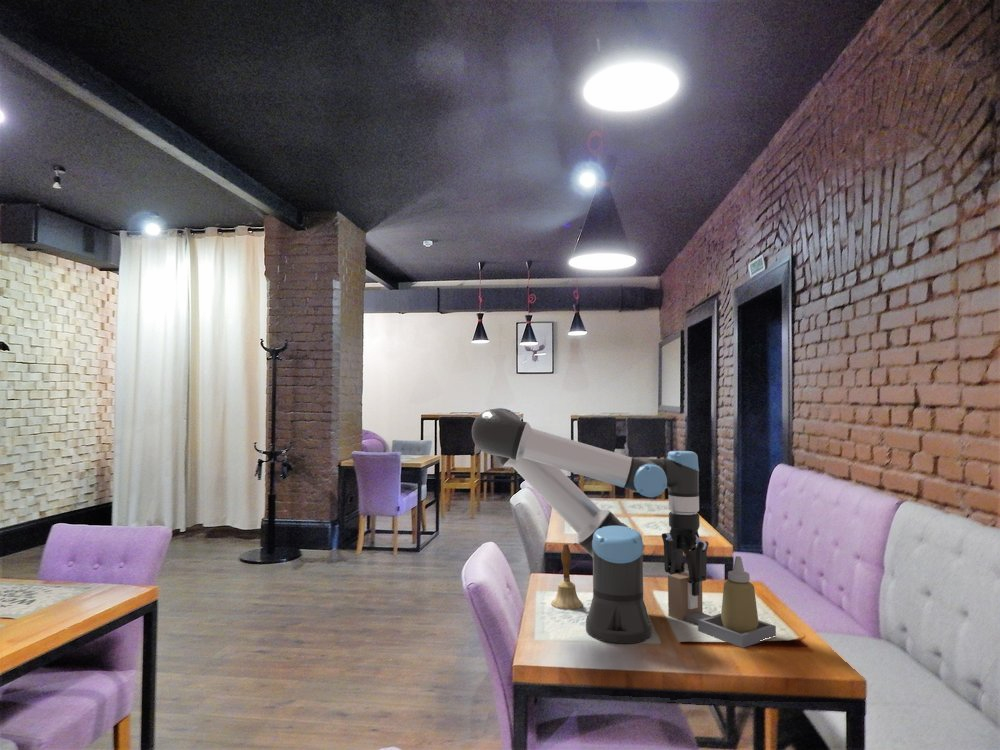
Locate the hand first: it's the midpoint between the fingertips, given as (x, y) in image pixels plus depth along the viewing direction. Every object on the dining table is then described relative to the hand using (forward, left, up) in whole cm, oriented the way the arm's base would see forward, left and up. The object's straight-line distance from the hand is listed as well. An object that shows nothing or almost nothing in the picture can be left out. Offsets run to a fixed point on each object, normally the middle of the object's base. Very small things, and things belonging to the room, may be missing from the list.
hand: (685, 605), depth 153 cm
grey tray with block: (+9, 0, -2) cm, 10 cm away
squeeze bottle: (+16, 0, -3) cm, 16 cm away
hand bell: (-23, -20, -3) cm, 30 cm away
